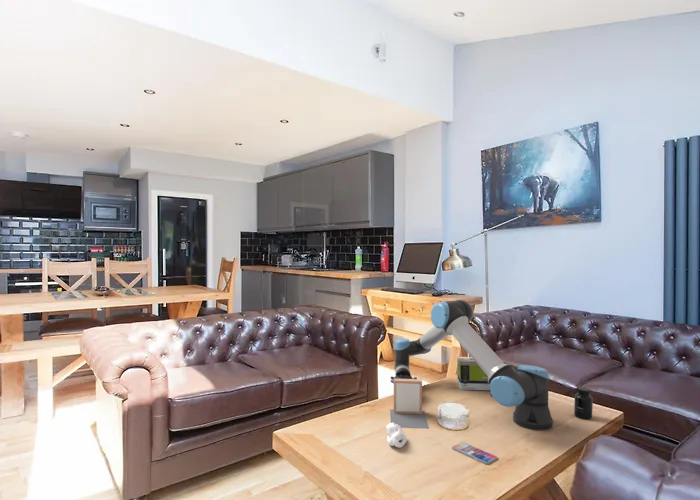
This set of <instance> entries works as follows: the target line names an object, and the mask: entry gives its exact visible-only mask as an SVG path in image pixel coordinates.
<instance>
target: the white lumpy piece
mask: <svg viewBox="0 0 700 500" xmlns="http://www.w3.org/2000/svg"><path fill="white" fill-rule="evenodd" d="M385 429H386V435H387V437H386V438H387V439H386V440H387V441H386V442H387V443H388V445H390V446H391V447H396V448H399V449H401V448H403V447H404V446H405V445H406V443H407V442H408V438H407V437H408V436H407V434H405V433H404V432H405V431H404V430H403V428H401V427H400V426H399V425H398V424H395V423H394V422H392V423H391V422H390V423H388V424H387V425H385Z"/></svg>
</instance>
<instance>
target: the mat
mask: <svg viewBox="0 0 700 500" xmlns="http://www.w3.org/2000/svg"><path fill="white" fill-rule="evenodd" d="M425 411H426V410H422V414H406V413H394V411H393V409H390V408H389V415H390V416H389V417H390V423H392V422H394V423H395V424H398V425H399V426H400V427H401V428H402V429H403V428H404V429H405V428H406V429H426V430H427V429H430V427H429V423H428V419H427V415H426V412H425Z"/></svg>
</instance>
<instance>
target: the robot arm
mask: <svg viewBox="0 0 700 500" xmlns="http://www.w3.org/2000/svg"><path fill="white" fill-rule="evenodd" d="M473 318H474V309H473V306H471V304H470V303H469V302H467V301H466V300H464V299H457V300H449V301H448V300H447V301H443V300H442V301H440V302H439V301H438V302H437V303H435V304H434V305H432V307H431V310H430V320H431V323H432V325H433V326H432V328H430V329H429V330H428V331H427V332H426V333H424V334H423V335H422V336H420V337H419V338H418V339H416V340H411V341H410V339H408V338H403V337H401V338H397V339H396V340H395V342H394V375H395V376H390V383H392V384H393V385H394V379H418V377H415V376H414V377H413V376H412V375H411V371H410V357H414V356H418V355H425V354H428V353H430V352H431V350H432V348H433V347H435V346H436V345H437V344H438V343H440V342H441V341H442V340H444V339H445V338H447V337H448V336H453V337H454V338H455V339H456V341H457V342H458V343H459V345H461V346H462V347H463V349H464V351H466V353H467V354H468V355H469V357H472V358H473V359H474V361H475V362H476V363H477V364H478V365H479V367H480V368H481V369H482V370H483V371H484V372H485V374H486V375H487V376H488V383H489V384H490V394H492V396H493V397H492V398H493V400H494V401H496V403H498V404H500V405H501V406H503V407H507V408H509V407H515V408H514V411H513V412H512V420H513V422H514V423H515V424H516V425H519V426H520V427H521V428H525V429H530V430H536V431H545V430H550V429H552V428H553V426H554V425H553V424H554V419H553V417H552V415H551V410H550V408H549V389H550V387H549V384H550V383H549V380H550V378H549V371H548V370H547V369H546V368H543V367H541V366H537V365H536V366H535V365H532V364H531V365H530V364H519V365H518V366H517V370H516V369H515V368H514V367H513V366H512V364H510V363H504V361H502V359H501V358H500V357H499V356H498V355H497V353H495V352H494V350H493V349H492V348H491V347H490V346H489V344H487V343H486V341H484V339H483V338H482V337H481V335H479V334H478V332H476V330H475V329H474V328H473V327H472V326H471V325H470V324H469V323H470V322H471V321H472V319H473Z"/></svg>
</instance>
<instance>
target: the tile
mask: <svg viewBox="0 0 700 500" xmlns="http://www.w3.org/2000/svg"><path fill="white" fill-rule="evenodd" d="M392 407H393V409H392V410H393V411H394V413H406V414H422V411H423V380H422V378H419V379H418V378H417V379H394V384H393V406H392Z"/></svg>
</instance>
